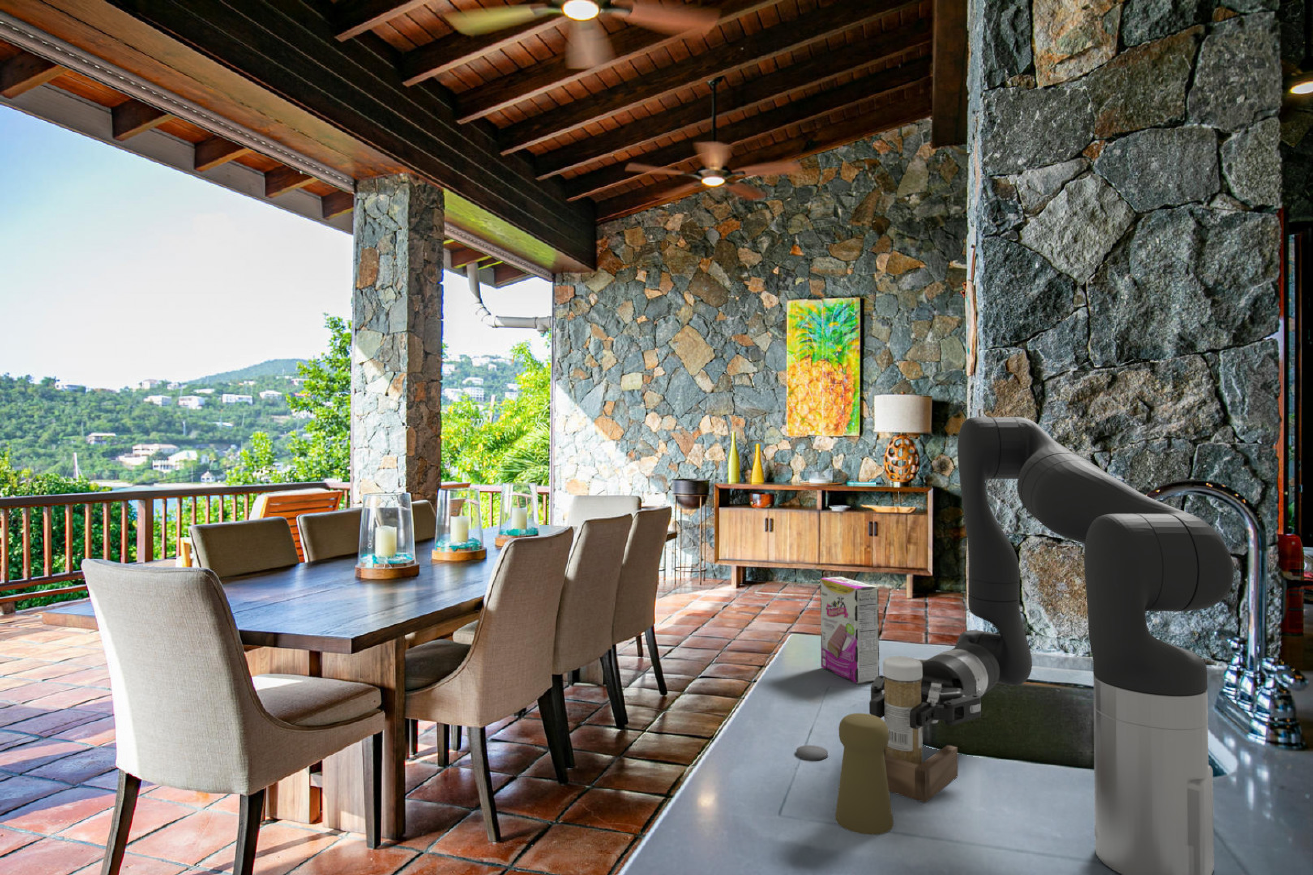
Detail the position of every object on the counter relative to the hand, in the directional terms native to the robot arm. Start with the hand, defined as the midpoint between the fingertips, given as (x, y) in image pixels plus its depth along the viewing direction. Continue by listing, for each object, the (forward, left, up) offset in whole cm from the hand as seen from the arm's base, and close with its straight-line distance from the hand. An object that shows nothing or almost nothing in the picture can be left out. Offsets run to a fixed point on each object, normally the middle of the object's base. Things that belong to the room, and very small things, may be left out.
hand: (893, 715), depth 92 cm
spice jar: (0, -3, -8) cm, 8 cm away
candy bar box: (+26, -38, -8) cm, 47 cm away
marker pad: (+12, -2, -8) cm, 15 cm away
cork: (-2, +10, -8) cm, 14 cm away
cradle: (0, -3, -8) cm, 9 cm away
